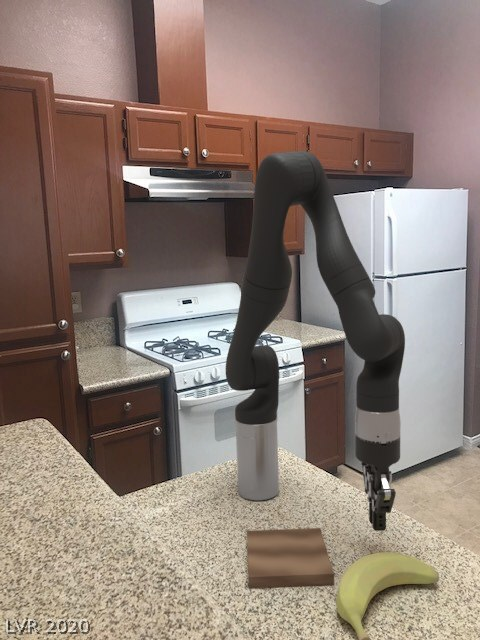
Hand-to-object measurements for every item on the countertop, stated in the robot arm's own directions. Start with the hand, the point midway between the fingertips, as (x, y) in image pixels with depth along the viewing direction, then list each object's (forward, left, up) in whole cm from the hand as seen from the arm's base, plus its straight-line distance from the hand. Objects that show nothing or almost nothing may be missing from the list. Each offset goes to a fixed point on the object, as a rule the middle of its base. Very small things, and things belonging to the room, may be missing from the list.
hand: (377, 525), depth 92 cm
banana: (+4, +2, -3) cm, 6 cm away
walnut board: (0, -16, -6) cm, 17 cm away
